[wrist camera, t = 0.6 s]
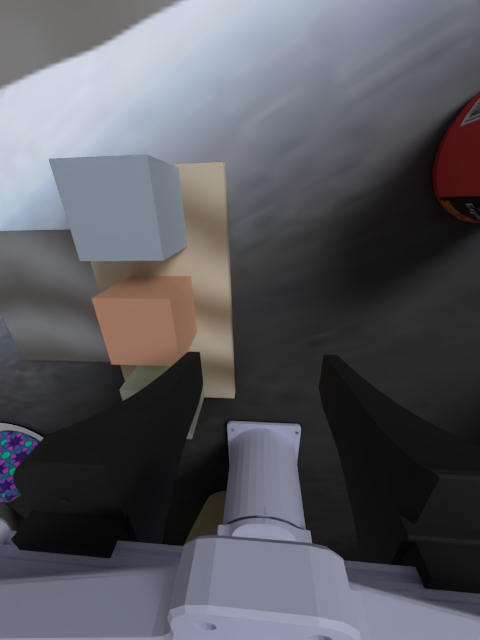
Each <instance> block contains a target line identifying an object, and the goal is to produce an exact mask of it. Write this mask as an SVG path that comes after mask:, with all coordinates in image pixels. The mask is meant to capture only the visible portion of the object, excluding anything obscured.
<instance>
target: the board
mask: <svg viewBox="0 0 480 640" xmlns="http://www.w3.org/2000/svg"><path fill="white" fill-rule="evenodd" d="M171 165H173V166H176V167H178V168H179V174H180V183H181V192H182V201H183V210H184V218H185V227H186V236H187V245H188V246H187V247H185V248H184V249H182V250H180V251H179V252H177V253H175V254H174V255H172V256H170V257H169V258H167V259H165V260H164V261H80V260H79V256H78V253H77V250H76V247H75V243H74V240H73V237H72V234H71V230H32V231H0V313H1V315H2V317H3V319H4V321H5V323H6V325H7V327H8V329H9V331H10V333H11V335H12V337H13V339H14V341H15V343H16V345H17V347H18V349H19V351H20V353H21V355H22V357H23V359H24V360H50V361H86V362H111V361H110V358H109V354H108V351H107V348H106V345H105V341H104V338H103V335H102V332H101V328H100V325H99V322H98V318H97V315H96V312H95V309H94V305H93V302H92V299H91V298H93V297H95V296H96V295H98V294H100V293H102V292H103V291H105V290H107V289H109V288H110V287H112V286H114V285H116V284H117V283H119V282H121V281H123V280H124V279H126V278H128V277H130V276H191V280H192V289H193V298H194V307H195V316H196V325H197V334H196V336H195V338H194V340H193V342H192V344H191V346H190V348H189V350H188V352H200V357H201V366H202V375H203V386H204V395H205V396H204V397H212V398H234V397H235V374H234V350H233V326H232V302H231V278H230V254H229V230H228V205H227V181H226V164H225V163H224V162H219V163H193V164H171ZM120 366H121V369H122V373H123V376H124V380H125V381H126V380H127V379H128V377H129V376H130V375H131V373H132V372H133V371H134V370H135V368H136V367H137V366H138V365H120Z"/></svg>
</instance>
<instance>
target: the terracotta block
mask: <svg viewBox="0 0 480 640" xmlns="http://www.w3.org/2000/svg"><path fill="white" fill-rule="evenodd" d="M91 299H92V302H93V305H94V309H95V312H96V315H97V318H98V322H99V325H100V328H101V332H102V335H103V338H104V341H105V345H106V348H107V351H108V354H109V358H110V361H111V364H113V365H148V366H172V365H173V364H175V363H176V362H177V361H178V360H179V359H180V358H181V357H182V356H184V355H185V354H186V353H187V352H188V350H189V348H190V346H191V344H192V342H193V340H194V338H195V336H196V334H197V325H196V316H195V307H194V298H193V289H192V280H191V276H130V277H128V278H126V279H124V280H123V281H121V282H119V283H117V284H116V285H114V286H112V287H110V288H109V289H107V290H105V291H103V292H102V293H100V294H98V295H96V296H95V297H93V298H91Z"/></svg>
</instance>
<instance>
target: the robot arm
mask: <svg viewBox="0 0 480 640" xmlns="http://www.w3.org/2000/svg"><path fill="white" fill-rule="evenodd" d="M202 388H203V375H202V366H201V357H200V352H187V353H186V354H185V355H184V356H182V357H181V358H180V359H179V360H178V361H177V362H176V363H175V364H173V365H172V366H171V367H170V368H169V369H168V370H166V371H165V372H164V373H163V374H161V375H160V376H159V377H158V378H156V379H155V380H154V381H152V382H151V383H150V384H149V385H147V386H146V387H144V388H143V389H141V390H140V391H138V392H137V393H135V394H134V395H132V396H130V397H129V398H127V399H125V400H124V401H122V402H120V403H118V404H116V405H115V406H113V407H111V408H109V409H107V410H105V411H103V412H101V413H99V414H97V415H95V416H93V417H90V418H88V419H86V420H84V421H81V422H79V423H77V424H74V425H72V426H69V427H66V428H64V429H61V430H59V431H56V432H53V433H50V434H48V435H46V436H45V437H44V438H43V439H42V440H41V441H40V442H39V444H38V445H37V446H36V447H35V448H34V449H33V450H32V451H31V452H30V453H29V454H28V456H27V457H26V458H25V459H24V460H23V461H22V462H21V463H20V464H19V465H18V466H17V467H16V469H15V471H14V473H13V480H14V484H15V486H16V488H17V490H18V491H19V493H20V494H21V496H22V497H23V499H24V500H25V501H26V503H27V504H28V506H29V507H30V509H31V510H32V512H31V513H30V514H29V516H28V517H27V518H26V520H25V521H24V523H23V524H22V525H21V526H20V528H19V529H18V531H12V530H11V527H10V526H9V524H8V523H7V522H6V521H5V520H4V519H2V518H0V640H480V447H478V446H476V445H474V444H471V443H469V442H467V441H465V440H463V439H461V438H459V437H456V436H454V435H452V434H450V433H448V432H446V431H444V430H442V429H440V428H438V427H436V426H434V425H433V424H431V423H429V422H427V421H425V420H424V419H422V418H420V417H418V416H417V415H415V414H413V413H411V412H410V411H408V410H407V409H405V408H403V407H402V406H400V405H399V404H397V403H396V402H394V401H393V400H391V399H390V398H388V397H387V396H386V395H384V394H383V393H382V392H380V391H379V390H378V389H376V388H375V387H374V386H372V385H371V384H370V383H369V382H367V381H366V380H365V379H364V378H362V377H361V376H360V375H359V374H358V373H357V372H355V371H354V370H353V369H352V368H351V367H350V366H349V365H347V364H346V363H345V362H344V361H343V360H342V359H341V358H340V357H338V356H337V355H324V356H323V363H322V370H321V377H320V383H319V391H320V396H321V401H322V405H323V409H324V412H325V415H326V418H327V421H328V424H329V426H330V429H331V432H332V435H333V438H334V441H335V444H336V447H337V450H338V453H339V456H340V460H341V464H342V468H343V472H344V477H345V481H346V485H347V490H348V494H349V499H350V504H351V508H352V513H353V518H354V523H355V528H356V533H357V538H358V544H359V550H360V555H361V561H362V562H354V561H343V559H342V558H341V557H340V556H339V555H338V554H336V553H335V552H333V551H332V550H330V549H329V548H327V547H325V546H321V545H316V544H312V540H311V533H310V531H309V530H306V528H305V520H304V513H303V506H302V498H301V491H300V483H299V476H298V469H297V459H298V450H299V442H300V434H301V427H300V425H298V424H288V423H266V422H245V421H229V422H228V423H227V434H228V449H229V464H230V467H229V475H228V483H227V492H226V500H225V508H224V517H223V525H218V530H217V535H208V536H199V537H197V538H195V539H193V540H191V541H189V542H188V543H186V544H185V545H184V546H175V545H164V544H162V542H163V537H164V532H165V527H166V521H167V517H168V512H169V507H170V502H171V498H172V493H173V489H174V484H175V480H176V476H177V471H178V467H179V463H180V459H181V455H182V451H183V448H184V444H185V441H186V438H187V436H188V433H189V430H190V427H191V424H192V422H193V419H194V416H195V413H196V410H197V407H198V405H199V402H200V397H201V393H202ZM231 428H232V429H231Z"/></svg>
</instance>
